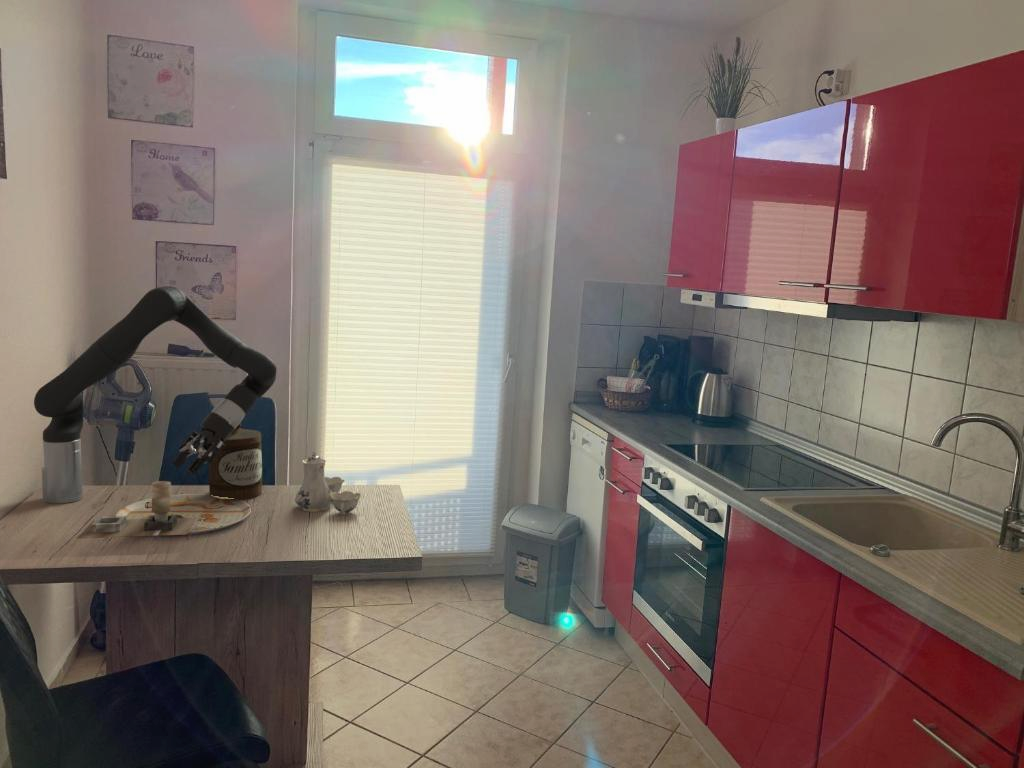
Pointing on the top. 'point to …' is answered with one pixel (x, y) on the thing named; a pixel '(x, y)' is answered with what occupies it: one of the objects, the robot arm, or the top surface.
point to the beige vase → (161, 500)
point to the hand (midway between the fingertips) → (182, 469)
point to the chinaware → (323, 489)
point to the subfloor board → (137, 527)
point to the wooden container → (237, 466)
